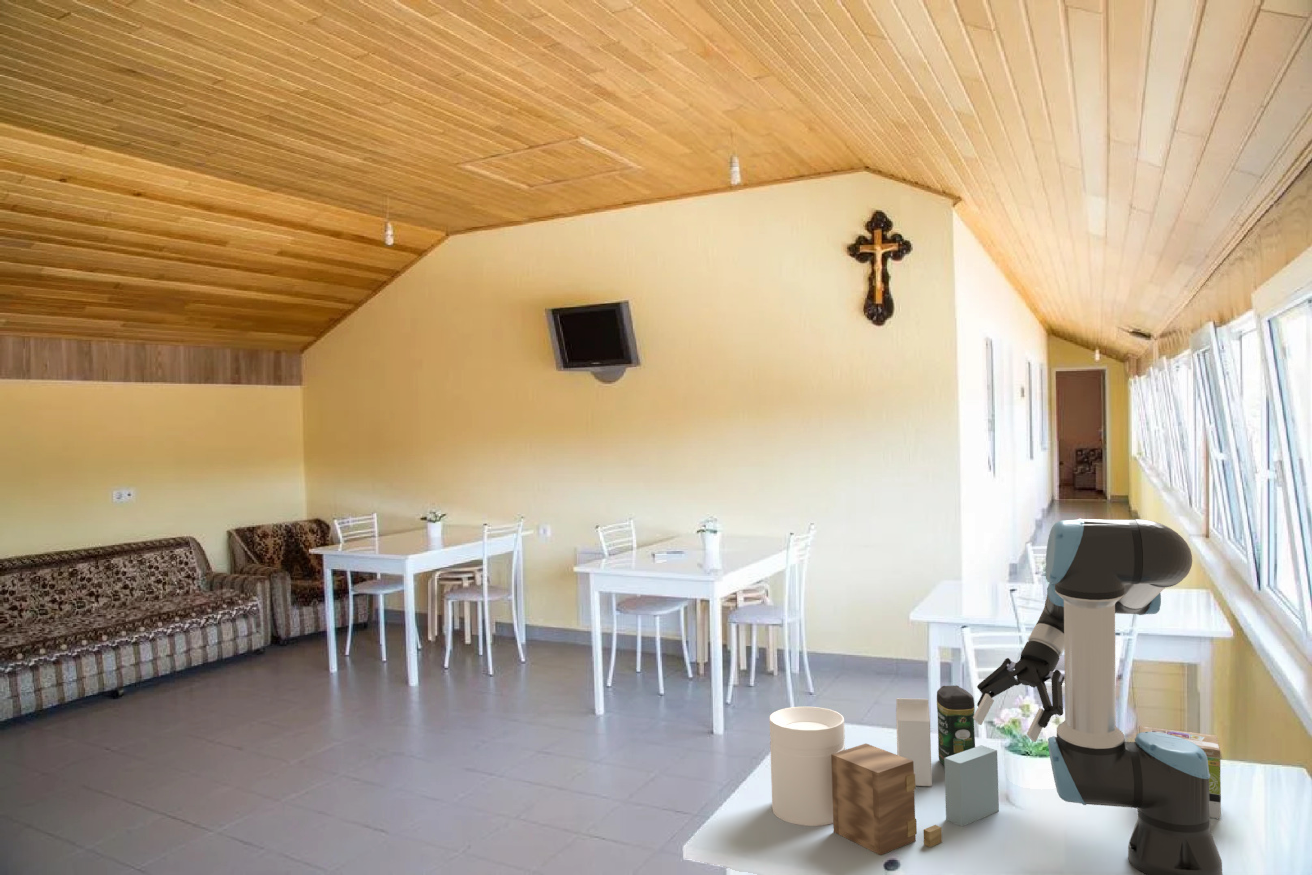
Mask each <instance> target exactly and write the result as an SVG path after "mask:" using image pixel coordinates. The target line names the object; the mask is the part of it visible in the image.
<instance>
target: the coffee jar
mask: <svg viewBox="0 0 1312 875" xmlns="http://www.w3.org/2000/svg"><path fill="white" fill-rule="evenodd" d="M936 709H937V711H936V712H937V734H938V735H937V736H938V737H937V738H938V740H937V741H938V742H937V743H938V744H937V748H938V750H937V752H938V760H939V761H940V763H941V765H942V766H943V767H945V762H944V758H946V757H948V756H951V755H954V754H957V753H960V752H963V751H966V750H969V749H972V748H975V747H976V738H975V737H976V735H975V720H974V719H973V716H974V714H975V700H974V696H973V695H972V694H971V693H970V692H969V691H967V690H966V689H964V688H962V687H960V686H959V685H956V684H955V685H942V686H941V687H939V688H938V690H937V692H936Z"/></svg>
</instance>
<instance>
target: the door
mask: <svg viewBox="0 0 1312 875" xmlns="http://www.w3.org/2000/svg"><path fill="white" fill-rule="evenodd" d="M944 762H945V766H944V785H945V786H944V788H945V789H944V790H945V792H944V793H945V819H946V820H945V821H948V822H951V823H952V824H955V825H958V826H961V827H964V826H966V825H969V824H972V823H973V822H976V821H979V820H981V819H984V818H985V817H988V816H990V815H993V814H996V813H998V812H999V811H1000V805H999V803H1000V802H999V801H1000V800H999V797H1000V796H999V772H998V771H999V770H998V768H999V767H998V762H999V761H998V750H997V749H994V748H991V747H987V746H984V745H977V746H975V748H972V749H969V750H966V751H963V752H960V753H957V754H954V755H951V756H948V757H946V758H944Z"/></svg>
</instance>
